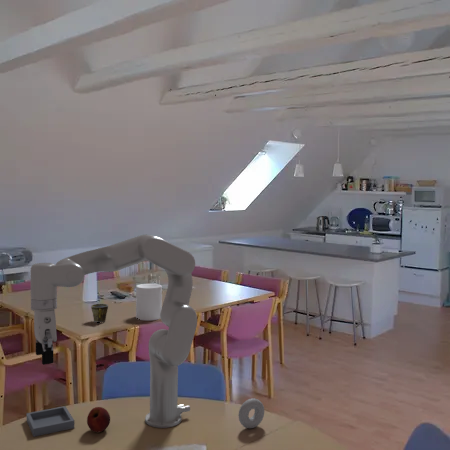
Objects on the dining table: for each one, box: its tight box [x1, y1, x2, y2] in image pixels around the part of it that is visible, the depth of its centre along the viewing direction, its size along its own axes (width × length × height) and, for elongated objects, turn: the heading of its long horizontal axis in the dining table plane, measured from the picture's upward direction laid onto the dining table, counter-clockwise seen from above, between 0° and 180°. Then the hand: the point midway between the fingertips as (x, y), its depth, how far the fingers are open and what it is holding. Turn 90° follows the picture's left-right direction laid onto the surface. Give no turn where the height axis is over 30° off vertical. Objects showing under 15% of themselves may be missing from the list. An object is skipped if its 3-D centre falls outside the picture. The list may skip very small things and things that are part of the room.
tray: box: [26, 405, 75, 438], centre depth 173 cm, size 13×13×3 cm
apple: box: [86, 406, 111, 433], centre depth 169 cm, size 7×8×8 cm
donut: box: [238, 397, 266, 429], centre depth 173 cm, size 10×4×10 cm, turn 122°
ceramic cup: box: [90, 303, 109, 323], centre depth 306 cm, size 13×10×10 cm
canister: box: [135, 283, 163, 321], centre depth 321 cm, size 16×16×20 cm
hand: (44, 358), depth 156 cm, fingers open, 9 cm apart
